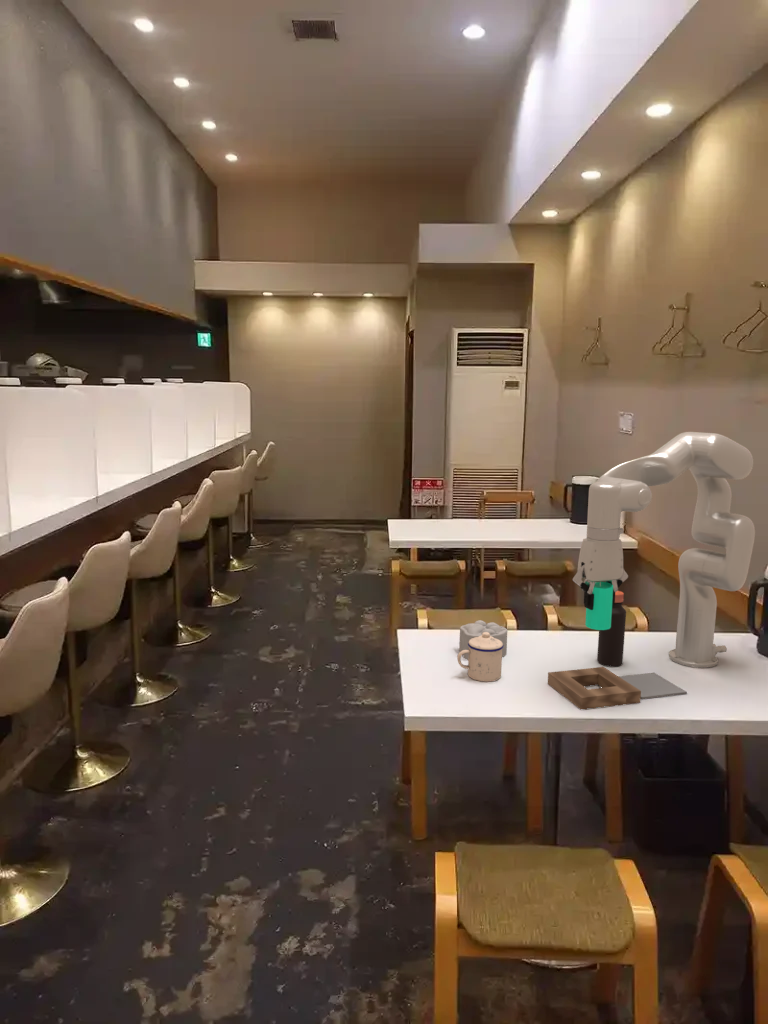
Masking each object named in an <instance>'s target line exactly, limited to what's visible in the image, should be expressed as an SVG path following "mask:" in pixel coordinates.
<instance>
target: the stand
mask: <svg viewBox="0 0 768 1024" xmlns="http://www.w3.org/2000/svg"><path fill="white" fill-rule="evenodd" d="M619 676H620V675H617V674H616V673H614V672H612V671H611V670H609V669H608V668H606V667H604V666H598V667H589V668H580V669H570V670H559V671H548V673H547V685H548V686H550V687H551V688H552V689H554V690H555V691H556V692H557V693H559V694H560V695H562V697H564V698H565V699H567V701H569V702H571V704H573V705H574V706H575V707H577V708H578V709H579V708H580V709H579V710H581V709H585V710H588V709H587V708H593V709H597V708H596V707H601V708H605V707H604V706H609V707H614V706H615V705H618V706H623V704H626V705H631V704H632V705H634V704H640V703H641V699H640V698H641V691H640V690H639V689H637V688H636V687H634V686H633V685H631V684H629V683H628V682H626V681H625V680H623V679H622V678H620V677H619ZM590 685H594V686H598V685H599V686H598V688H597V687H596V688H590V689H589V688H586V687H591V686H590ZM584 686H585V687H584ZM601 687H602V688H601Z"/></svg>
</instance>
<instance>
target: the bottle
mask: <svg viewBox="0 0 768 1024" xmlns="http://www.w3.org/2000/svg"><path fill="white" fill-rule="evenodd" d="M624 595H625V593H624V592H623V591H621V590H618V591H617V592H615V603H614V608H612V616H611V628H610V629H607V630H598V639H597V641H598V642H597V653H596V654H597V656H596V657H597V658H596V661H597V663H599V664H600V665H602V666H606V667H614V668H615V667H620V666H622V665H623V662H624V661H623V660H624V651H625V650H624V648H625V647H624V646H625V633H626V622H627V621H626V618H627V611H626V609H625V608H624V607H623V604H624V600H625V599H624Z"/></svg>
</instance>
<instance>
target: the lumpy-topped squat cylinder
mask: <svg viewBox="0 0 768 1024" xmlns="http://www.w3.org/2000/svg"><path fill="white" fill-rule="evenodd" d="M483 632H488V633H490V636H492V637H493V638H496V639H498V640H500V641H501V642H502V643H503V648H502V657H503V658H504V657H506V656H507V652H508V651H507V648H508V629H507V628H506V627H504V626H502V625H499V624H498V623H497V622H493V621H492V622H486V621H484V620H480V619H479V620H475V622H474V623H473V622H472V623H467V624H463V625H461V626H460V627H459V643H458V644H459V648H458V649H459V653H460V652H461V651H462V650H469V646H468V642H469V640H470V639H472V638H475V637H479V636H481V635H482V633H483ZM462 656H463V658H464V659H465V660H468V657H469V653H465V654H463V655H462Z"/></svg>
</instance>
